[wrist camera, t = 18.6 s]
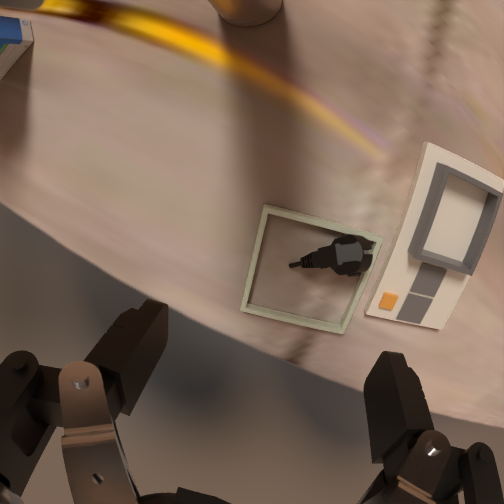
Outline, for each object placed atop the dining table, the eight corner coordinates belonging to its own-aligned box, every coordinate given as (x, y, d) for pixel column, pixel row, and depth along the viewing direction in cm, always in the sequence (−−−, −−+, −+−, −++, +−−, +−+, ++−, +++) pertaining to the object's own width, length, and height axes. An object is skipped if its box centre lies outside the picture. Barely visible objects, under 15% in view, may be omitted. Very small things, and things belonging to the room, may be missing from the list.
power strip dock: (423, 141, 35) (436, 143, 31) (500, 179, 34) (515, 185, 30) (364, 309, 46) (369, 325, 42) (438, 324, 46) (447, 340, 42)
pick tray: (264, 203, 42) (263, 206, 41) (380, 234, 41) (383, 238, 40) (241, 305, 49) (239, 310, 48) (342, 329, 49) (343, 334, 47)
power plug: (284, 247, 45) (349, 227, 35) (318, 248, 49) (379, 232, 40) (288, 284, 44) (355, 274, 34) (322, 282, 48) (385, 271, 39)
